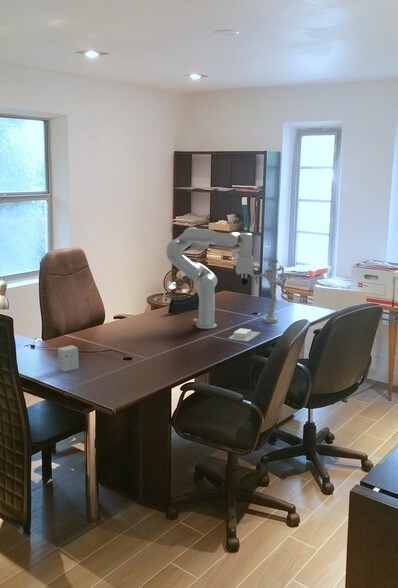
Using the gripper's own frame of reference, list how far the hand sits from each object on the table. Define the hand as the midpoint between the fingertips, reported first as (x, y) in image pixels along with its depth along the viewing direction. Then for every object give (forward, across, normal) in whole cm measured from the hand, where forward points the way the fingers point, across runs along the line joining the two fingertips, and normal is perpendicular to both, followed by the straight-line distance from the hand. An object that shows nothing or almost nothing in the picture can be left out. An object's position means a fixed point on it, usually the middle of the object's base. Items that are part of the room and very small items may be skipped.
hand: (244, 284), depth 348 cm
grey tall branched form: (+27, +7, +28) cm, 40 cm away
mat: (+27, +7, -15) cm, 32 cm away
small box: (+27, -45, -108) cm, 120 cm away
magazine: (+28, -52, +23) cm, 63 cm away
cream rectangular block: (+25, +10, -16) cm, 31 cm away
